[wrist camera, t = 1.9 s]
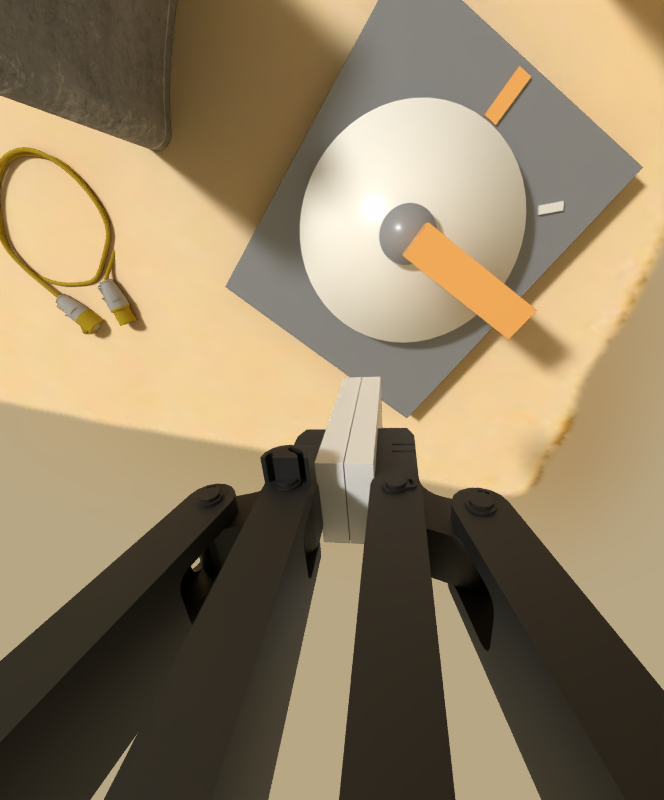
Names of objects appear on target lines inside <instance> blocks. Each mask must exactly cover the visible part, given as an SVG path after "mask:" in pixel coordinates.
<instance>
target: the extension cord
mask: <svg viewBox="0 0 664 800" xmlns="http://www.w3.org/2000/svg"><path fill="white" fill-rule="evenodd" d="M23 156H35V157H42V158H46V159H49V160H51V161H52V162H54V163H55V164H57V165H58V166H60V167H61V168H62V169H64V170H65V171H66V172H67V173H69V174H70V175H71V176H72V177H73V178H74V179H75V180H76V181H77V182H78V183H79V184H80V185H81V187H82V188H83V189H84V190H85V191H86V192H87V194H88V195H89V196H90V198H91V199H92V200H93V202H94V204H95V205H96V207H97V208H98V210H99V212H100V214H101V216H102V219H103V221H104V224H105V229H106V241H105V246H104V250H103V254H102V258H101V262H100V265H99V269H98V271H97V273H96V275H95V277H94V278H93V279H91V280H89V281H85V282H77V283H63V282H57V281H53V280H50V279H47V278H44V277H42V276H40V275H38V274H36V273H35V272H33V271H32V270H30V269H29V268H28V267H26V266H25V265H24V264H23V263H22V262H21V261H20V260H19V259H18V258H17V256H16V255H15V254H14V252H13V251H12V249H11V247H10V246H9V244H8V241H7V239H6V236H5V232H4V226H3V221H2V214H1V205H0V241H1V243H2V244H3V246H4V248H5V249H6V251H7V252H8V253H9V255H10V256H11V257H12V258H13V259H14V260H15V261H16V262H17V263H18V264H19V265H20V266H21V267H22V268H23V269H24V270H25V271H26V272H27V273H28V274H29V275H31V276H32V277H33V278H34V279H35V280H36V281H38V282H39V283H40V284H41V285H42V286H44V287H45V288H46V289H47V290H48V291H50V292H51V293H52V294H53V295H54V296H56V297H57V299H56V303H57V304H58V305H57V307H58V306H59V307H58V308H59V309H60V310H62V311H64V312H65V313H66V315H65V316H69V317H70V318H71V319H72V320H73V321H75V322H76V323H77V324H79V325H80V326H81V329H82V331H83V333H84V334H93V333H95V332H97V330H98V329H99V326H100V325H101V324H102V322H103V319H102V318H101V317H100V316H98V315H97V314H96V313H95V312H94V311H92V310H91V309H88V308H87V307H86V306H84V305H82V304H81V303H79V302H78V301H76V300H74V299H72V298H70V297H69V296H67V295H66V294H62V295H59V294H58V293H56V292H55V291H54V290H53V289H52V288H50V287H49V286H48V285H47V284H45V283H44V282H43V281H45V282H48V283H51V284H55V285H61V286H84V285H90V284H92V283H94V282H96V281H97V280H98V278H99V277H100V275H101V273H102V270H103V267H104V264H105V260H106V256H107V252H108V248H109V244H110V236H111V233H110V225H109V220H108V217H107V214H106V212H105V210H104V208H103V207H102V205H101V204H100V202H99V201H98V200H97V198H96V197H95V195H94V194H93V192H92V191H91V190H90V188H89V187H88V186H87V184H86V183H85V182H84V180H83V179H82V178H81V177H80V176H79V175H78V174H77V173H76V172H75V171H74V170H73V169H72V168H71V167H70V166H69V165H67V164H66V163H64V162H63V161H61V160H59V159H57V158H55V157H53V156H51V155H48V154H46V153H44V152H42V151H39V150H36V149H33V148H26V147H22V148H16V149H13V150H11V151H9V152H7V153H6V154H4V155H3V156H2V157H1V158H0V186H1V179H2V176H3V173H4V171H5V169H6V167H7V166H8V164H9V163H10V162H11V161H13V160H14V159H16V158H19V157H23ZM114 259H115V251H114V249H113V251H112V254H111V258H110V261H109V264H108V267H107V270H106V273H105V277H104V281H102V282H100V283H99V284H100V285H99V286H98V288H99V287H100V288H99V290H100V292H101V293H102V294H103V296H104V298H102V299H103V300H104V301H105V302H106V304H107V305H108V307H109V309H110V311H111V312H112V313H114V315H115V317H116V318H117V320H118V322H119V324H120V326H122V325H125V324H127V323H130V322H132V321H135V320H138V319H137V317H136V315H133V313H132V311H131V309H130V306H131V304H129V302H128V300H127V299H126V297H125V296H124V294H123V293H122V292H121V290H120V289H119V288H118V286H117V285H116V284H115V283H114V282H113V280H112V279H109V274H110V272H111V269H112V266H113V263H114ZM42 280H43V281H42Z"/></svg>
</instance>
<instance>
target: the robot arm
mask: <svg viewBox="0 0 664 800" xmlns="http://www.w3.org/2000/svg"><path fill="white" fill-rule="evenodd" d="M261 463H262V468H263V473H264V479H265V484H264V486H263V488H262V490H261V491H259V492H255V493H251V494H245V495H240V496H236V494H235V491H234V489H233V488H232V487H231V486H229V485H226V484H213V485H207V486H205V487H203V488H200V489H198V490H196V491H195V492H193V493H192V494H191V495H189V496H188V497H187V498H186V499H185V500H184V501H183V502H181V503H180V504H179V505H178V506H177V507H176V508H175V509H173V510H172V511H171V512H170V513H169V514H168V515H167V516H165V517H164V518H163V519H162V520H161V521H160V522H159V523H157V524H156V525H155V526H154V527H153V528H152V529H151V530H150V531H148V532H147V533H146V534H145V535H144V536H143V537H141V538H140V539H139V540H138V541H137V542H136V543H135V544H133V545H132V546H131V547H130V548H129V549H128V550H127V551H125V552H124V553H123V554H122V555H121V556H120V557H119V558H117V559H116V560H115V561H114V562H113V563H112V564H111V565H110V566H108V567H107V568H106V569H105V570H104V571H103V572H101V573H100V574H99V575H98V576H97V577H96V578H95V579H93V580H92V581H91V582H90V583H89V584H88V585H87V586H85V588H83V589H82V590H81V591H80V592H79V593H78V594H76V595H75V596H74V597H73V598H72V599H71V600H69V601H68V602H67V603H66V604H65V605H64V606H63V607H61V608H60V609H59V610H58V611H57V612H56V613H55V614H54V615H52V616H51V617H50V618H49V619H48V620H47V621H45V622H44V623H43V624H42V625H41V626H40V627H39V628H38V629H36V630H35V631H34V632H33V633H32V634H31V635H29V636H28V637H27V638H26V639H25V640H24V641H23V642H21V643H20V644H19V645H18V646H17V647H16V648H15V649H14V650H12V651H11V652H10V653H9V654H8V655H7V656H6V657H4V658H3V659H2V660H1V661H0V800H90V799H91V798H92V797H93V795H94V794H95V792H96V791H97V790H98V788H99V787H100V785H101V784H102V782H103V781H104V779H105V778H106V777H107V775H108V774H109V773H110V771H111V770H112V768H113V767H114V766H115V764H116V763H117V761H118V760H119V758H120V757H121V756H122V754H123V753H124V751H125V750H126V749H127V747H128V746H129V744H130V743H131V741H132V740H133V739H134V737H135V736H136V734H137V733H138V734H137V736H136V737H135V739H134V741H133V743H132V745H131V747H130V750H129V751H128V753H127V755H126V757H125V759H124V761H123V763H122V765H121V767H120V769H119V771H118V773H117V775H116V777H115V779H114V781H113V783H112V785H111V787H110V789H109V791H108V792H107V794H106V796H105V798H104V800H268V798H269V793H270V789H271V784H272V780H273V775H274V770H275V765H276V761H277V756H278V752H279V747H280V743H281V738H282V734H283V729H284V724H285V720H286V715H287V711H288V706H289V701H290V696H291V692H292V688H293V683H294V678H295V674H296V669H297V664H298V660H299V655H300V651H301V646H302V641H303V636H304V632H305V627H306V622H307V618H308V613H309V609H310V605H311V599H312V595H313V591H314V586H315V582H316V577H317V572H318V568H319V563H320V559H321V548H320V537H321V533H322V529H323V538H324V542H335V543H350V540H351V543H357V544H364V553H363V564H362V574H361V584H360V593H359V604H358V614H357V624H356V634H355V645H354V654H353V665H352V674H351V686H350V695H349V705H348V715H347V725H346V735H345V745H344V756H343V767H342V776H341V787H340V796H339V800H455V792H454V783H453V773H452V764H451V755H450V746H449V737H448V727H447V718H446V709H445V700H444V690H443V681H442V672H441V662H440V654H439V644H438V635H437V625H436V616H435V607H434V598H433V588H432V579H431V577H432V578H435V579H438V580H441V581H443V582H446V583H448V587H449V590H450V593H451V595H452V597H453V600H454V602H455V604H456V606H457V609H458V611H459V613H460V615H461V618H462V620H463V622H464V625H465V627H466V629H467V631H468V634H469V636H470V638H471V641H472V643H473V645H474V647H475V650H476V652H477V654H478V656H479V659H480V661H481V663H482V665H483V668H484V670H485V672H486V675H487V677H488V679H489V682H490V684H491V686H492V688H493V691H494V693H495V695H496V697H497V700H498V702H499V704H500V707H501V709H502V711H503V713H504V716H505V718H506V720H507V723H508V725H509V727H510V729H511V732H512V734H513V736H514V738H515V741H516V743H517V745H518V747H519V750H520V752H521V754H522V757H523V759H524V761H525V763H526V766H527V768H528V770H529V772H530V775H531V777H532V779H533V782H534V784H535V786H536V789H537V791H538V793H539V795H540V797H541V800H664V690H663V689H662V688H661V687H660V685H659V684H658V683H657V682H656V681H655V679H654V678H653V677H652V676H651V675H650V673H649V672H648V671H647V670H646V668H645V667H644V666H643V665H642V663H641V662H640V661H639V660H638V659H637V657H636V656H635V655H634V654H633V653H632V651H631V650H630V649H629V648H628V647H627V645H626V644H625V643H624V642H623V640H622V639H621V638H620V637H619V636H618V634H617V633H616V632H615V631H614V629H613V628H612V627H611V626H610V625H609V623H608V622H607V621H606V620H605V618H604V617H603V616H602V615H601V614H600V612H599V611H598V610H597V609H596V608H595V606H594V605H593V604H592V603H591V601H590V600H589V599H588V598H587V597H586V595H585V594H584V593H583V592H582V591H581V589H580V588H579V587H578V586H577V585H576V583H575V582H574V581H573V580H572V579H571V577H570V576H569V575H568V574H567V572H566V571H565V570H564V569H563V567H562V566H561V565H560V564H559V563H558V561H557V560H556V559H555V558H554V557H553V555H552V554H551V553H550V552H549V550H548V549H547V548H546V547H545V545H543V543H542V542H541V541H540V539H539V538H538V537H537V536H536V535H535V533H534V532H533V531H532V530H531V528H530V527H529V526H528V525H527V524H526V522H525V521H524V520H523V519H522V518H521V516H520V515H519V514H518V513H517V512H516V510H515V509H514V508H513V507H512V505H511V504H510V503H509V502H508V501H507V500H506V499H505V498H504V497H502V496H501V495H500V494H497V493H495V492H493V491H491V490H487V489H482V488H467V489H463V490H460V491H458V492H457V493H456V494H454V496H453V498H452V499H450V498H446V497H442V496H439V495H435V494H433V493H431V492H429V491H428V490H427V489H425V488H424V487H423V486H422V485H421V483H420V481H419V477H418V468H417V459H416V449H415V440H414V435H413V434H412V433H411V432H410V431H409V430H408V429H407V428H382V404H381V377H348V378H344V379H343V382H342V385H341V388H340V391H339V393H338V396H337V399H336V402H335V405H334V408H333V411H332V414H331V417H330V420H329V422H328V425H327V428H326V430H306V431H304V432H303V433H302V434H301V435H299V436H298V438H297V440H296V442H295V444H294V445H285V446H279V447H276V448H272V449H271V450H269V451H267V452H265V453H264V454H263V455H262V456H261ZM198 557H199V558H200V561H201V562H200V563H199V564H198V565H197V566H196V567H195V568H193V569H192V568H191V565H192V564H193V563H194V562H195V560H197V559H198Z"/></svg>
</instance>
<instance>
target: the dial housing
mask: <svg viewBox="0 0 664 800" xmlns="http://www.w3.org/2000/svg"><path fill="white" fill-rule="evenodd" d="M409 98H436V99H443V100H448V101H451V102H454V103H457V104H460V105H463V106H464V107H466V108H468V109H470V110H472V111H474V112H476V113H477V114H479V115H480V116H481V117H483V118H484V119H485V120H487V121H488V122H489V123H490V124H491V125H492V126H493V127H494V128H495V129H496V130H497V131H498V132H499V133H500V134H501V135H502V137H503V138H504V140H505V141H506V143H507V144H508V145H509V147H510V148H511V150H512V152H513V155H514V157H515V159H516V161H517V163H518V166H519V169H520V172H521V175H522V178H523V183H524V189H525V194H526V223H525V231H524V236H523V241H522V245H521V248H520V251H519V254H518V257H517V260H516V262H515V264H514V267H513V269H512V271H511V273H510V275H509V277H508V278H507V280H506V281H505V283H504V284H505V285H506V286H507V287H509V288H510V289H511V290H512V291H514V292H515V293H516V294H517V295H518V296H520V297H521V296H522V295H523V294H524V293H525V292H526V291H527V290H528V289H529V288H530V287H531V286H532V285H533V284H534V283H535V282H536V281H537V279H538V278H539V277H540V276H541V275H542V274H543V273H544V272H545V271H546V270H547V269H548V268H549V267H550V266H551V265H552V264H553V262H554V261H555V260H556V259H557V258H558V257H559V256H560V255H561V254H562V253H563V252H564V251H565V250H566V249H567V248H568V247H569V245H570V244H571V243H572V242H573V241H574V240H575V239H576V238H577V237H578V236H579V235H580V234H581V233H582V232H583V231H584V229H585V228H586V227H587V226H588V225H589V224H590V223H591V222H592V221H593V220H594V219H595V218H596V217H597V216H598V215H599V214H600V212H601V211H602V210H603V209H604V208H605V207H606V206H607V205H608V204H609V203H610V202H611V201H612V200H613V199H614V198H615V197H616V195H617V194H618V193H619V192H620V191H621V190H622V189H623V188H624V187H625V186H626V185H627V184H628V183H629V182H630V181H631V180H632V178H633V177H634V176H635V175H636V174H637V173H638V172H639V171H640V170H641V169H642V168H643V167H642V166H641V165H640V164H639V163H638V162H637V161H636V160H634V159H633V158H632V157H631V156H630V155H629V154H628V153H627V152H626V151H625V150H624V149H623V148H621V147H620V146H619V145H618V144H617V143H616V142H615V141H614V140H613V139H612V138H611V137H609V136H608V135H607V134H606V133H605V132H604V131H603V130H602V129H601V128H600V127H599V126H598V125H596V124H595V123H594V122H593V121H592V120H591V119H590V118H589V117H588V116H587V115H586V114H585V113H583V112H582V111H581V110H580V109H579V108H578V107H577V106H576V105H575V104H574V103H573V102H572V101H570V100H569V99H568V98H567V97H566V96H565V95H564V94H563V93H562V92H561V91H560V90H559V89H557V88H556V87H555V86H554V85H553V84H552V83H551V82H550V81H549V80H548V79H547V78H546V77H544V76H543V75H542V74H541V73H540V72H539V71H538V70H537V69H536V68H535V67H534V66H533V65H531V64H530V63H529V62H528V61H527V60H526V59H525V58H524V57H523V56H522V55H521V54H520V53H518V52H517V51H516V50H515V49H514V48H513V47H512V46H511V45H510V44H509V43H508V42H507V41H505V40H504V39H503V38H502V37H501V36H500V35H499V34H498V33H497V32H496V31H495V30H494V29H492V28H491V27H490V26H489V25H488V24H487V23H486V22H485V21H484V20H483V19H482V18H481V17H479V16H478V15H477V14H476V13H475V12H474V11H473V10H472V9H471V8H470V7H469V6H468V5H466V4H465V3H464V2H463V1H462V0H378V2H377V4H376V6H375V8H374V10H373V11H372V13H371V15H370V17H369V19H368V21H367V23H366V25H365V26H364V28H363V30H362V32H361V34H360V36H359V38H358V40H357V41H356V43H355V45H354V47H353V49H352V51H351V53H350V54H349V56H348V58H347V60H346V62H345V64H344V66H343V68H342V69H341V71H340V73H339V75H338V77H337V79H336V81H335V83H334V84H333V86H332V88H331V90H330V92H329V94H328V96H327V98H326V99H325V101H324V103H323V105H322V107H321V109H320V111H319V112H318V114H317V116H316V118H315V120H314V122H313V124H312V126H311V127H310V129H309V131H308V133H307V135H306V137H305V139H304V141H303V142H302V144H301V146H300V148H299V150H298V152H297V154H296V156H295V157H294V159H293V161H292V163H291V165H290V167H289V169H288V170H287V172H286V174H285V176H284V178H283V180H282V182H281V184H280V185H279V187H278V189H277V191H276V193H275V195H274V197H273V199H272V200H271V202H270V204H269V206H268V208H267V210H266V212H265V214H264V215H263V217H262V219H261V221H260V223H259V225H258V227H257V228H256V230H255V232H254V234H253V236H252V238H251V240H250V242H249V243H248V245H247V247H246V249H245V251H244V253H243V255H242V257H241V258H240V260H239V262H238V264H237V266H236V268H235V270H234V272H233V273H232V275H231V277H230V279H229V281H228V283H227V285H226V286H225V287H226V288H228V289H229V290H230V291H232V292H233V293H235V294H236V295H237V296H239V297H240V298H241V299H243V300H244V301H246V302H247V303H248V304H250V305H251V306H253V307H254V308H255V309H257V310H258V311H259V312H261V313H262V314H264V315H265V316H266V317H268V318H269V319H270V320H272V321H273V322H275V323H276V324H277V325H279V326H280V327H282V328H283V329H284V330H286V331H287V332H288V333H290V334H291V335H293V336H294V337H295V338H297V339H298V340H299V341H301V342H302V343H304V344H305V345H306V346H308V347H309V348H311V349H312V350H313V351H315V352H316V353H317V354H319V355H320V356H322V357H323V358H324V359H326V360H327V361H328V362H330V363H331V364H333V365H334V366H335V367H337V368H338V369H340V370H341V371H342V372H344V373H345V374H346V375H348V376H349V377H381V400H382V401H384V402H385V403H386V404H388V405H389V406H391V407H392V408H393V409H395V410H396V411H397V412H399V413H400V414H402V415H403V416H404V417H406V418H408V417H409V416H410V414H411V413H412V412H413V411H414V410H415V409H416V408H417V407H418V406H419V405H420V404H421V403H422V402H423V401H424V400H425V399H426V397H427V396H428V395H429V394H430V393H431V392H432V391H433V390H434V389H435V388H436V387H437V386H438V385H439V384H440V383H441V381H442V380H443V379H444V378H445V377H446V376H447V375H448V374H449V373H450V372H451V371H452V370H453V369H454V368H455V367H456V366H457V364H458V363H459V362H460V361H461V360H462V359H463V358H464V357H465V356H466V355H467V354H468V353H469V352H470V351H471V350H472V349H473V347H474V346H475V345H476V344H477V343H478V342H479V341H480V340H481V339H482V338H483V337H484V336H485V335H486V334H487V333H488V332H489V330H490V329H491V328H492V326H491V325H490V324H488V323H487V322H486V321H485V320H483V319H482V318H481V317H479V316H478V315H476V316H475V317H473V318H472V319H471V320H469V321H468V322H467V323H465V324H463V325H462V326H460V327H458V328H457V329H455V330H453V331H450V332H448V333H446V334H444V335H441V336H438V337H435V338H432V339H428V340H423V341H418V342H405V343H402V342H389V341H384V340H378V339H375V338H372V337H369V336H366V335H364V334H362V333H360V332H357V331H355V330H353V329H352V328H350V327H349V326H347V325H346V324H344V323H343V322H342V321H340V320H339V319H338V318H337V317H336V316H335V315H333V313H332V312H331V311H330V310H329V309H328V308H327V307H326V306H325V305H324V303H323V302H322V300H321V299H320V298H319V296H318V295H317V293H316V291H315V289H314V288H313V286H312V284H311V282H310V279H309V277H308V274H307V272H306V269H305V265H304V261H303V257H302V252H301V244H300V217H301V209H302V204H303V200H304V195H305V192H306V189H307V186H308V183H309V180H310V178H311V175H312V173H313V171H314V169H315V167H316V165H317V163H318V162H319V160H320V158H321V157H322V155H323V154H324V152H325V151H326V149H327V148H328V147H329V146H330V144H331V143H332V142H333V141H334V140H335V138H336V137H337V136H338V135H339V134H340V133H341V132H342V131H343V130H344V129H346V128H347V127H348V126H349V125H350V124H351V123H353V122H354V121H355V120H357V119H358V118H360V117H361V116H363V115H364V114H366V113H368V112H370V111H372V110H374V109H376V108H377V107H379V106H382V105H385V104H388V103H391V102H394V101H398V100H403V99H409Z"/></svg>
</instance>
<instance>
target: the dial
mask: <svg viewBox="0 0 664 800" xmlns="http://www.w3.org/2000/svg"><path fill="white" fill-rule="evenodd" d="M525 223H526V194H525V189H524V183H523V178H522V175H521V172H520V169H519V166H518V163H517V161H516V159H515V157H514V155H513V152H512V150H511V148H510V147H509V145H508V144H507V143H506V141H505V140H504V138H503V137H502V135H501V134H500V133H499V132H498V131H497V130H496V129H495V128H494V127H493V126H492V125H491V124H490V123H489V122H488V121H487V120H485V119H484V118H483V117H481V116H480V115H479V114H477V113H476V112H474V111H472V110H470V109H468V108H466V107H464V106H463V105H460V104H457V103H454V102H451V101H448V100H443V99H436V98H409V99H403V100H398V101H394V102H391V103H388V104H385V105H382V106H379V107H377V108H376V109H374V110H372V111H370V112H368V113H366V114H364V115H363V116H361V117H360V118H358V119H357V120H355V121H354V122H353V123H351V124H350V125H349V126H348V127H347V128H346V129H344V130H343V131H342V132H341V133H340V134H339V135H338V136H337V137H336V138H335V140H334V141H333V142H332V143H331V144H330V146H329V147H328V148H327V149H326V151H325V152H324V154H323V155H322V157H321V158H320V160H319V162H318V163H317V165H316V167H315V169H314V171H313V173H312V175H311V178H310V180H309V183H308V186H307V189H306V192H305V195H304V200H303V204H302V209H301V217H300V244H301V252H302V257H303V261H304V265H305V269H306V272H307V274H308V277H309V279H310V282H311V284H312V286H313V288H314V289H315V291H316V293H317V295H318V296H319V298H320V299H321V300H322V302H323V303H324V305H325V306H326V307H327V308H328V309H329V310H330V311H331V312H332V313H333V315H335V316H336V317H337V318H338V319H339V320H340V321H342V322H343V323H344V324H346V325H347V326H349V327H350V328H352V329H353V330H355V331H357V332H360V333H362V334H364V335H366V336H369V337H372V338H375V339H378V340H384V341H389V342H402V343H405V342H418V341H423V340H428V339H432V338H435V337H438V336H441V335H444V334H446V333H448V332H450V331H453V330H455V329H457V328H458V327H460V326H462V325H463V324H465V323H467V322H468V321H469V320H471V319H472V318H473V317H475V316H476V315H478V316H479V317H481V318H482V319H483V320H485V321H486V322H487V323H488V324H490V325H491V326H492V327H493V328H495V329H496V330H497V331H498V332H500V333H501V334H502V335H503V336H505V337H506V338H507V339H509V338H510V337H511V336H512V335H513V334H514V333H515V332H516V331H517V330H518V329H519V328H520V327H521V326H522V325H523V324H524V323H525V322H526V321H527V320H528V319H529V318H530V317H531V316H532V315H533V314H534V313H535V312H536V311H537V310H536V309H534V308H533V307H532V306H531V305H530V304H528V303H527V302H526V301H525V300H523V299H522V298H521V297H520V296H518V295H517V294H516V293H515V292H514V291H512V290H511V289H510V288H509V287H507V286H506V285H505V284H504V283H505V281H506V280H507V278H508V277H509V275H510V273H511V271H512V269H513V267H514V264H515V262H516V260H517V257H518V254H519V251H520V248H521V245H522V241H523V236H524V231H525Z"/></svg>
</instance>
